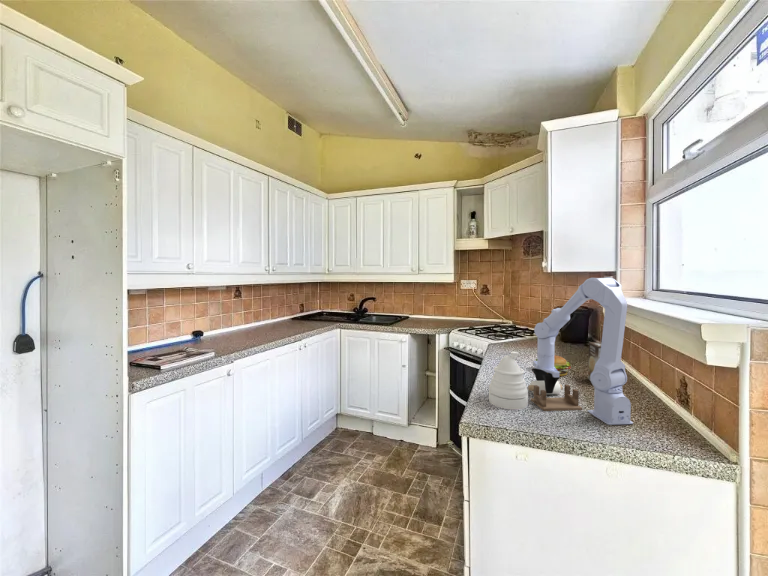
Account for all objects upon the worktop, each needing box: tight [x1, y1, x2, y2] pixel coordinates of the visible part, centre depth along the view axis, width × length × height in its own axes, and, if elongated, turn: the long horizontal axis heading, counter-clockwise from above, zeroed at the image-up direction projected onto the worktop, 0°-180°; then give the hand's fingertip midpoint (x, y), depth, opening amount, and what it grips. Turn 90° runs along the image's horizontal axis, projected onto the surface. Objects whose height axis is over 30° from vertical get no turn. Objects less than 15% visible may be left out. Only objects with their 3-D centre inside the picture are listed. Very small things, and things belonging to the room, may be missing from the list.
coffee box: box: [587, 341, 602, 382], centre depth 134 cm, size 9×6×16 cm
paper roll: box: [527, 380, 563, 396], centre depth 122 cm, size 5×12×5 cm, turn 93°
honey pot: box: [488, 351, 529, 411], centre depth 115 cm, size 13×13×18 cm
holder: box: [529, 384, 583, 412], centre depth 112 cm, size 9×13×6 cm
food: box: [535, 354, 572, 377], centre depth 148 cm, size 14×14×8 cm
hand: (545, 390), depth 122 cm, fingers closed on paper roll, 5 cm apart
